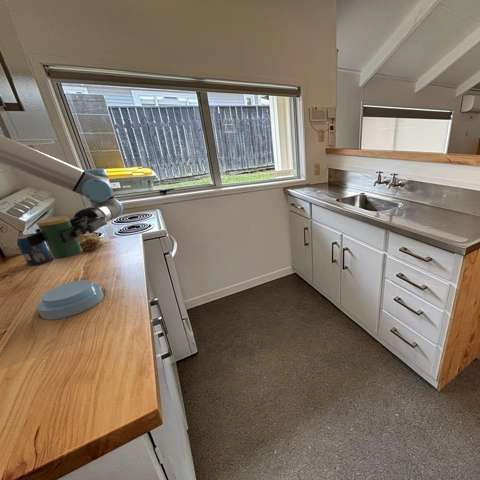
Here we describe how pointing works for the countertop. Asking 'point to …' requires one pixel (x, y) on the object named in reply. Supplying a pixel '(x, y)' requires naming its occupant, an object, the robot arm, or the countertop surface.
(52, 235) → the tea tin
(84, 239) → the sponge
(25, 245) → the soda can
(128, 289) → the countertop surface
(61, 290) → the upturned bowl
